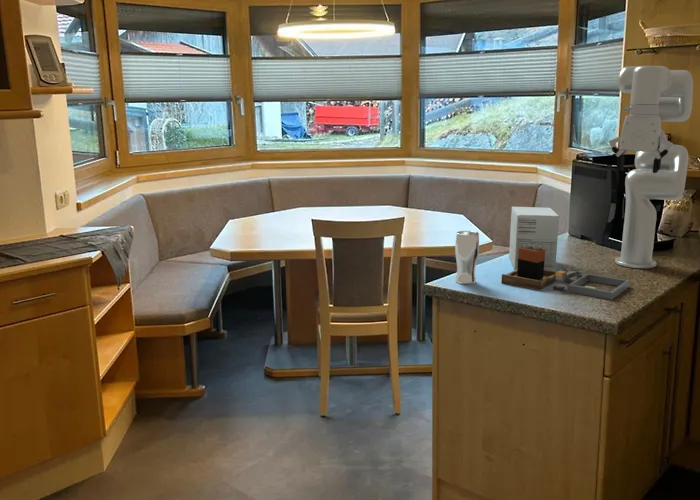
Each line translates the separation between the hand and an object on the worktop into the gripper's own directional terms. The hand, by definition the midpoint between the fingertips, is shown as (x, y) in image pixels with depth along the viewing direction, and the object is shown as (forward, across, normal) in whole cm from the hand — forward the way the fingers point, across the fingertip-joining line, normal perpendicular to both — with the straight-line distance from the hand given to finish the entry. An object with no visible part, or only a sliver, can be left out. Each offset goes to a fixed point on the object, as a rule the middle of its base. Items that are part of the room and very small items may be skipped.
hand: (637, 171), depth 195 cm
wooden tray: (+33, -23, -18) cm, 44 cm away
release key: (+31, -13, -15) cm, 37 cm away
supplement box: (+34, -31, +2) cm, 46 cm away
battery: (+32, -23, -18) cm, 43 cm away
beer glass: (+34, -38, -30) cm, 59 cm away
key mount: (+33, -13, -14) cm, 39 cm away
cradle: (+33, -4, -13) cm, 36 cm away
